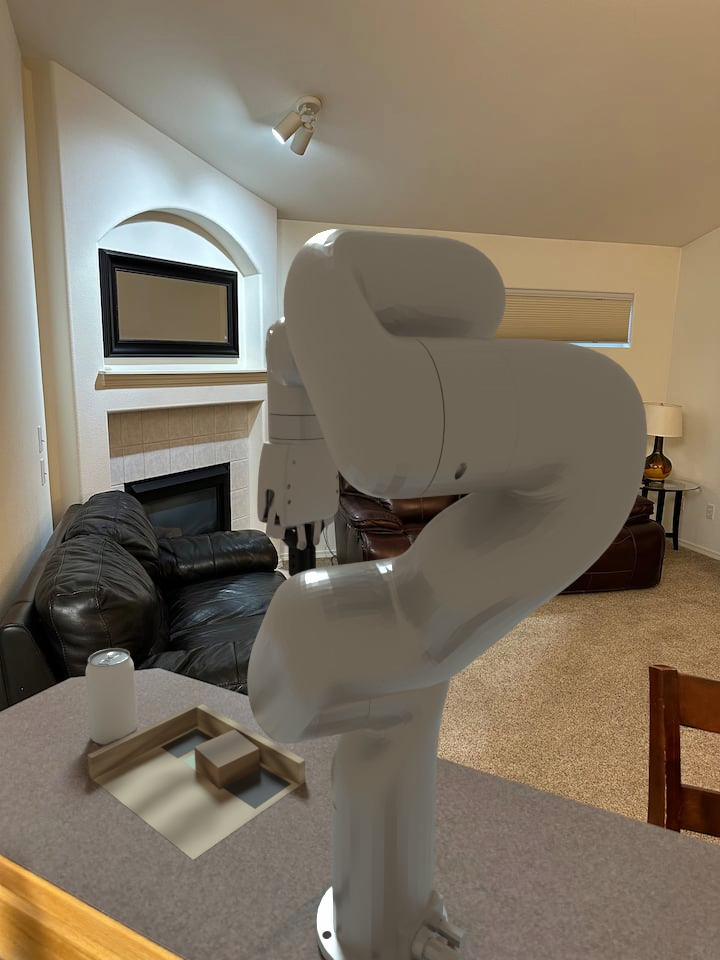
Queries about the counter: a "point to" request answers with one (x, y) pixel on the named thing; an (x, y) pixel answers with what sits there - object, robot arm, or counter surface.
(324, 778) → the counter surface
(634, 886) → the counter surface
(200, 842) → the board
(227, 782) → the block
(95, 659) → the can
